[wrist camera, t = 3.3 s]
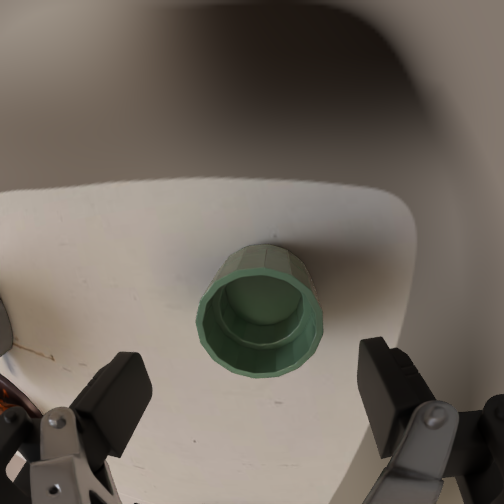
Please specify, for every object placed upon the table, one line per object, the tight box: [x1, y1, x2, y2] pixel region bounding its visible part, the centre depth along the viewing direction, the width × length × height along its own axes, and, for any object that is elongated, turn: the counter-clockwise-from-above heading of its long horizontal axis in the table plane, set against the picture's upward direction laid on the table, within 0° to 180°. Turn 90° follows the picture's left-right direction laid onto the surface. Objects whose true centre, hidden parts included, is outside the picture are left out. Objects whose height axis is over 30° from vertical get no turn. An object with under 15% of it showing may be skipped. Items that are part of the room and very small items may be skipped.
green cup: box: [196, 244, 323, 378], centre depth 15 cm, size 6×6×5 cm
